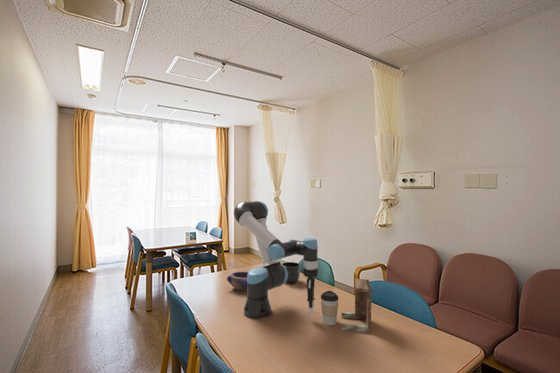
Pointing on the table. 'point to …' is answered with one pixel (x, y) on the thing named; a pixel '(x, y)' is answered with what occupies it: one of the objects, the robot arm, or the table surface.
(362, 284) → the wooden bookend
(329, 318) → the coffee cup
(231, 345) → the table surface
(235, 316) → the table surface
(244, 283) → the bowl
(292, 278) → the planter
